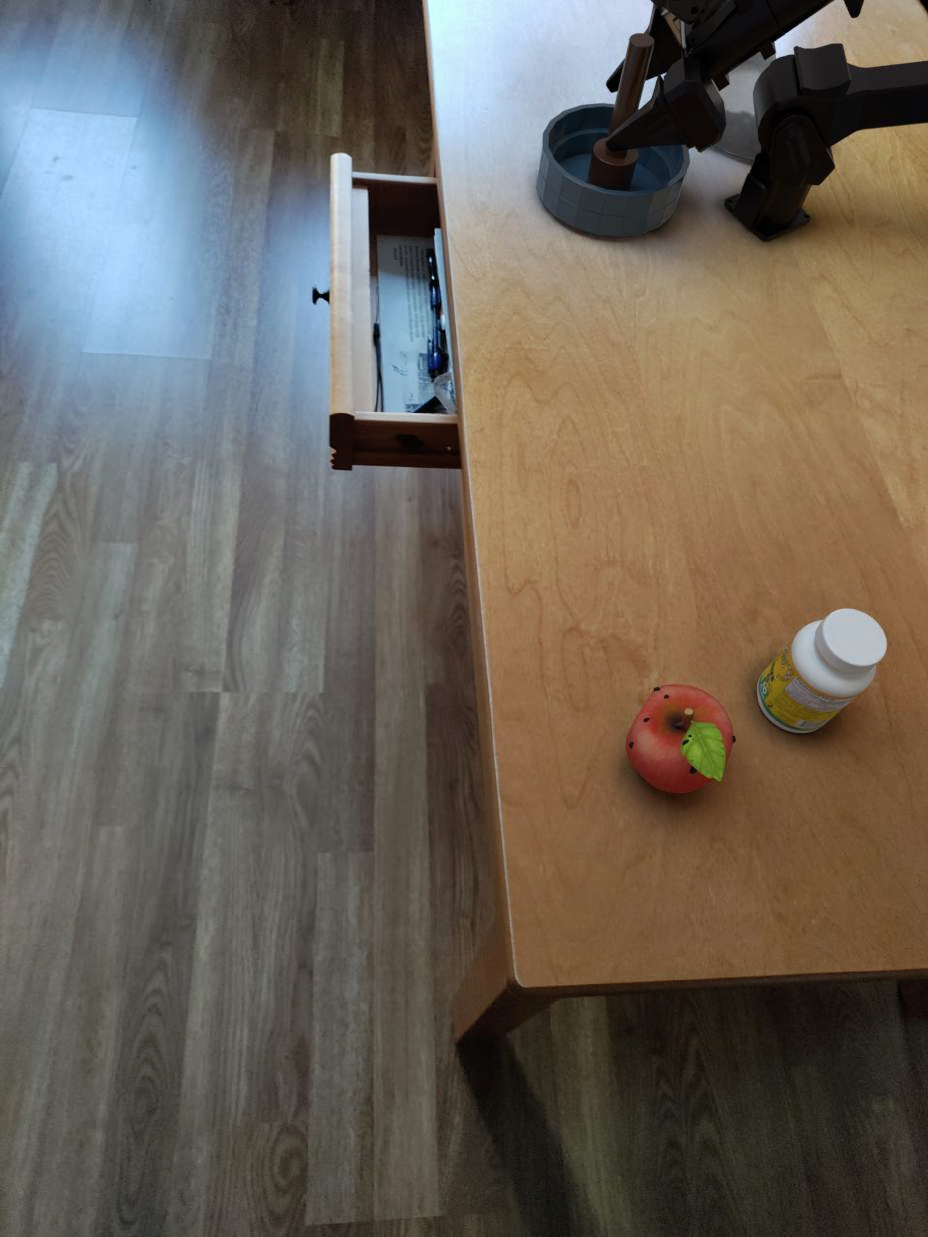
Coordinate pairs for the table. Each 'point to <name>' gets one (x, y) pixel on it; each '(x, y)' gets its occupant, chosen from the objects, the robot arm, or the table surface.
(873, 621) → the supplement bottle
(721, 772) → the apple
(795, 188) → the robot arm
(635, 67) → the pestle
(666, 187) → the bowl
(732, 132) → the dish
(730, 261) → the table surface
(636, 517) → the table surface
